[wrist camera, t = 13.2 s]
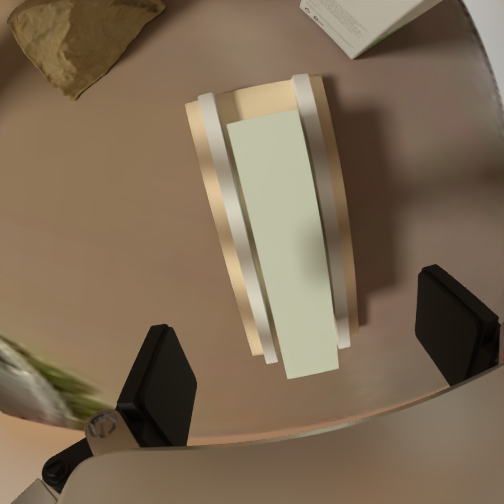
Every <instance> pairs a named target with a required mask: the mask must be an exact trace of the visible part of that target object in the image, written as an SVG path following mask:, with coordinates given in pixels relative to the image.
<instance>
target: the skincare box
mask: <svg viewBox="0 0 504 504" xmlns="http://www.w3.org/2000/svg"><path fill="white" fill-rule="evenodd" d="M441 1H442V0H301V3H300V8H301V9H302V10H303V11H304V12H305V13H306V14H307V15H308V16H309V17H311V18H312V19H313V20H314V21H315V22H316V23H317V24H318V25H319V26H320V27H321V28H322V29H323V30H324V31H325V32H326V33H327V34H328V35H329V36H330V37H331V38H332V39H333V40H334V41H335V42H336V43H337V44H338V45H339V47H340V48H341V49H342V50H343V51H344V52H345V53H346V54H347V55H348V56H349V58H350V59H354V58H356V57H357V56H359V55H360V54H362V53H363V52H365V51H366V50H368V49H369V48H371V47H372V46H374V45H375V44H377V43H378V42H380V41H381V40H383V39H385V38H386V37H388V36H389V35H391V34H392V33H394V32H396V31H397V30H399V29H400V28H402V27H403V26H405V25H407V24H409V23H410V22H412V21H413V20H415V19H416V18H418V17H419V16H420V15H422V14H423V13H425V12H426V11H428V10H429V9H430V8H432V7H433V6H435V5H436V4H438V3H439V2H441Z"/></svg>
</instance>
